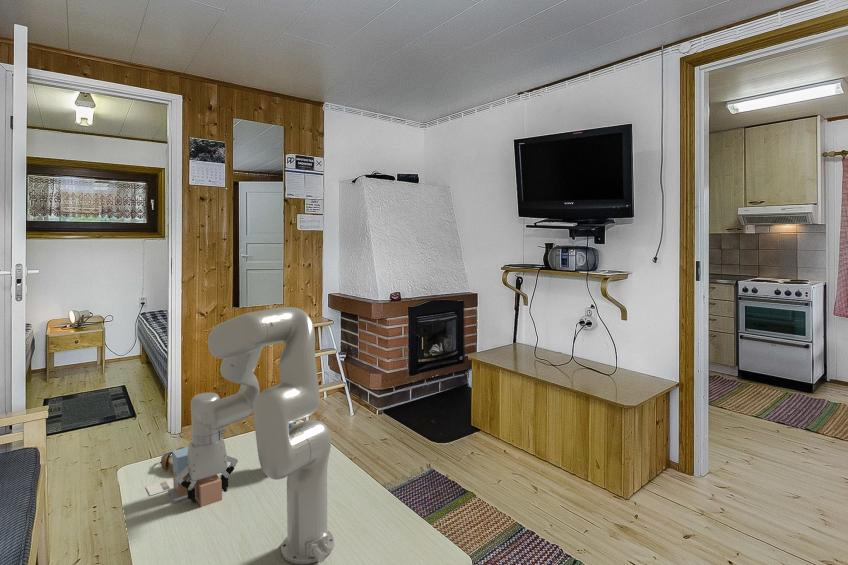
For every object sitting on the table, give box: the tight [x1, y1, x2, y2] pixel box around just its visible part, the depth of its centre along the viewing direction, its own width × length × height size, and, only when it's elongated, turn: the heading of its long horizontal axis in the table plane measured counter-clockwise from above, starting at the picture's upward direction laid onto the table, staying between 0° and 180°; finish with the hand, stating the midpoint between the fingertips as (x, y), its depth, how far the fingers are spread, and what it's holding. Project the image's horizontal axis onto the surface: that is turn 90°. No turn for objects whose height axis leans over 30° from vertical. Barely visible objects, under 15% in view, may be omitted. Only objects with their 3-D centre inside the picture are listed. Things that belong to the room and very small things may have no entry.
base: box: [167, 471, 196, 505], centre depth 137 cm, size 8×8×7 cm
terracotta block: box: [195, 474, 223, 508], centre depth 134 cm, size 6×6×6 cm
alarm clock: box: [159, 446, 186, 474], centre depth 153 cm, size 11×5×15 cm
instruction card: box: [145, 478, 174, 497], centre depth 141 cm, size 6×9×1 cm, turn 131°
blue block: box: [171, 446, 189, 476], centre depth 136 cm, size 6×6×6 cm
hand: (208, 494), depth 134 cm, fingers open, 8 cm apart
